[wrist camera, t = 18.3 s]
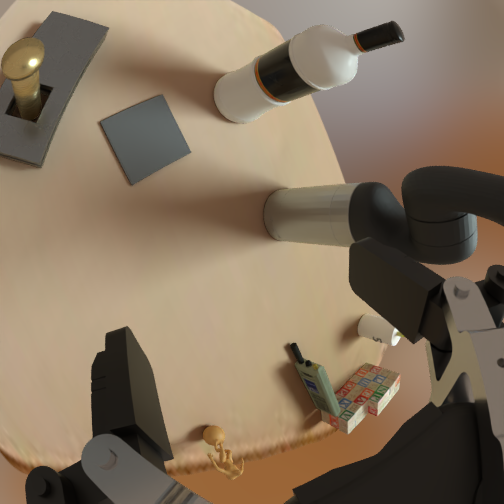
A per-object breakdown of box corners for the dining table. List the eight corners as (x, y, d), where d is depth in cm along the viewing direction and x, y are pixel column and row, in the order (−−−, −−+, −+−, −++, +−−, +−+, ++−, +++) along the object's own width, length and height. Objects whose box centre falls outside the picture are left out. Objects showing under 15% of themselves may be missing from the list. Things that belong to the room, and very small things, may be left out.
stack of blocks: (321, 421, 68) (356, 439, 58) (319, 407, 66) (357, 426, 57) (366, 376, 80) (399, 388, 70) (366, 361, 78) (401, 373, 68)
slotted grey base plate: (50, 23, 24) (52, 11, 21) (104, 39, 30) (109, 27, 27) (-19, 151, 22) (-26, 145, 20) (41, 168, 28) (39, 163, 26)
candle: (354, 327, 71) (405, 341, 59) (366, 308, 74) (416, 320, 62) (360, 341, 74) (407, 355, 62) (371, 323, 76) (418, 335, 64)
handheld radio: (314, 409, 66) (282, 348, 56) (322, 400, 67) (293, 337, 57) (335, 419, 60) (308, 359, 51) (342, 409, 62) (318, 346, 52)
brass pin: (40, 89, 26) (39, 30, 15) (49, 114, 28) (49, 62, 16) (12, 105, 24) (-3, 51, 13) (21, 131, 26) (6, 84, 14)
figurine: (229, 425, 49) (268, 459, 40) (214, 448, 48) (250, 484, 38) (196, 417, 45) (234, 456, 35) (181, 441, 43) (215, 482, 34)
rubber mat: (161, 95, 37) (162, 94, 36) (190, 153, 41) (191, 152, 40) (100, 122, 32) (100, 121, 32) (131, 185, 36) (132, 185, 36)
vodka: (200, 98, 40) (369, 6, 16) (230, 66, 43) (382, -14, 19) (241, 136, 46) (417, 85, 22) (265, 101, 48) (421, 49, 24)
